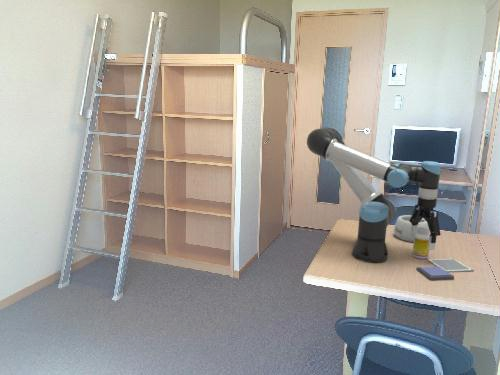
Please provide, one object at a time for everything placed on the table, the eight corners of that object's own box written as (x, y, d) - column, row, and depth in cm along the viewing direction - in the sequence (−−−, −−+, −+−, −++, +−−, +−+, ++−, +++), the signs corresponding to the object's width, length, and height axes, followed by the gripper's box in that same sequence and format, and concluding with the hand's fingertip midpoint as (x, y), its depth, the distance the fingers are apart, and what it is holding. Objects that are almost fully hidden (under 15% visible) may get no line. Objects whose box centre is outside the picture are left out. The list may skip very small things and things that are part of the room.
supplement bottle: (429, 260, 186) (433, 231, 183) (413, 258, 187) (416, 230, 184) (426, 254, 192) (429, 227, 189) (410, 253, 193) (414, 225, 191)
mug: (389, 231, 223) (391, 213, 221) (421, 233, 222) (424, 214, 220) (401, 246, 202) (404, 226, 200) (437, 247, 201) (440, 227, 199)
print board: (444, 272, 173) (445, 271, 173) (426, 260, 185) (426, 259, 185) (473, 271, 175) (473, 270, 175) (453, 259, 187) (454, 258, 187)
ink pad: (430, 280, 165) (430, 276, 164) (416, 270, 174) (416, 266, 174) (453, 279, 166) (454, 275, 166) (438, 269, 176) (439, 265, 176)
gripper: (453, 204, 172) (447, 254, 177) (419, 190, 196) (414, 234, 201) (436, 204, 171) (430, 254, 175) (404, 191, 195) (400, 235, 200)
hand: (422, 244), depth 188 cm, fingers open, 13 cm apart
